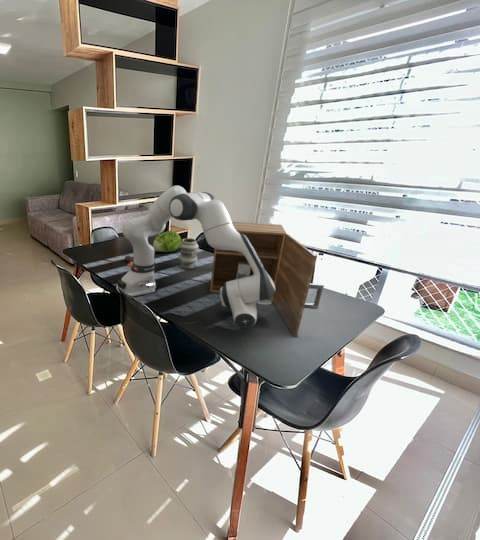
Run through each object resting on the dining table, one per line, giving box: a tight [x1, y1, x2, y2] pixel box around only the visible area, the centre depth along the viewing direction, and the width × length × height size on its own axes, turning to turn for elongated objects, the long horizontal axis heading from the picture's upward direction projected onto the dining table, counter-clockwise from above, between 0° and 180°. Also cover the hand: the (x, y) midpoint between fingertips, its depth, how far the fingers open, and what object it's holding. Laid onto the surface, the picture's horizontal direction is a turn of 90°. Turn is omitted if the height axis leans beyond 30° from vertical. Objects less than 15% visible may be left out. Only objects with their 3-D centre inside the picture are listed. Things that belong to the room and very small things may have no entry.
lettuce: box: [152, 230, 182, 253], centre depth 213 cm, size 16×21×15 cm
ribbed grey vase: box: [177, 237, 199, 271], centre depth 182 cm, size 12×12×18 cm
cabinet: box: [209, 221, 288, 301], centre depth 148 cm, size 18×30×34 cm, turn 69°
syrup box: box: [236, 261, 251, 279], centre depth 150 cm, size 6×6×14 cm
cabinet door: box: [271, 233, 325, 337], centre depth 121 cm, size 7×30×34 cm, turn 169°
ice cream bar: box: [124, 255, 134, 265], centre depth 194 cm, size 3×5×15 cm
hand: (243, 288), depth 132 cm, fingers open, 8 cm apart
